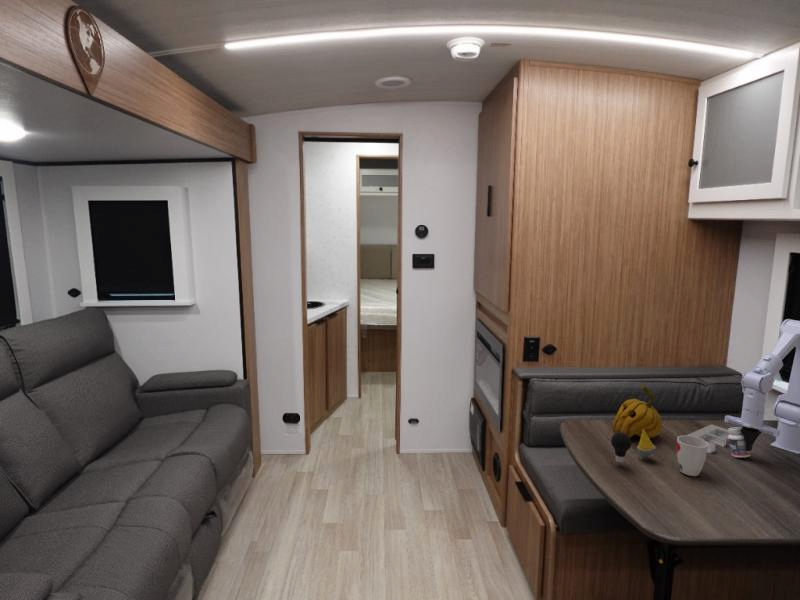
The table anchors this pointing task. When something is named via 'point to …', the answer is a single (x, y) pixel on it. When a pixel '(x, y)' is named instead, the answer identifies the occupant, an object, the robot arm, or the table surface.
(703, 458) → the cup
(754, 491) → the table surface
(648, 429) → the pumpkin
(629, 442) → the light bulb
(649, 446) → the yellow cone
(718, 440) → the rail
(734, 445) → the pill bottle
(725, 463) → the table surface
